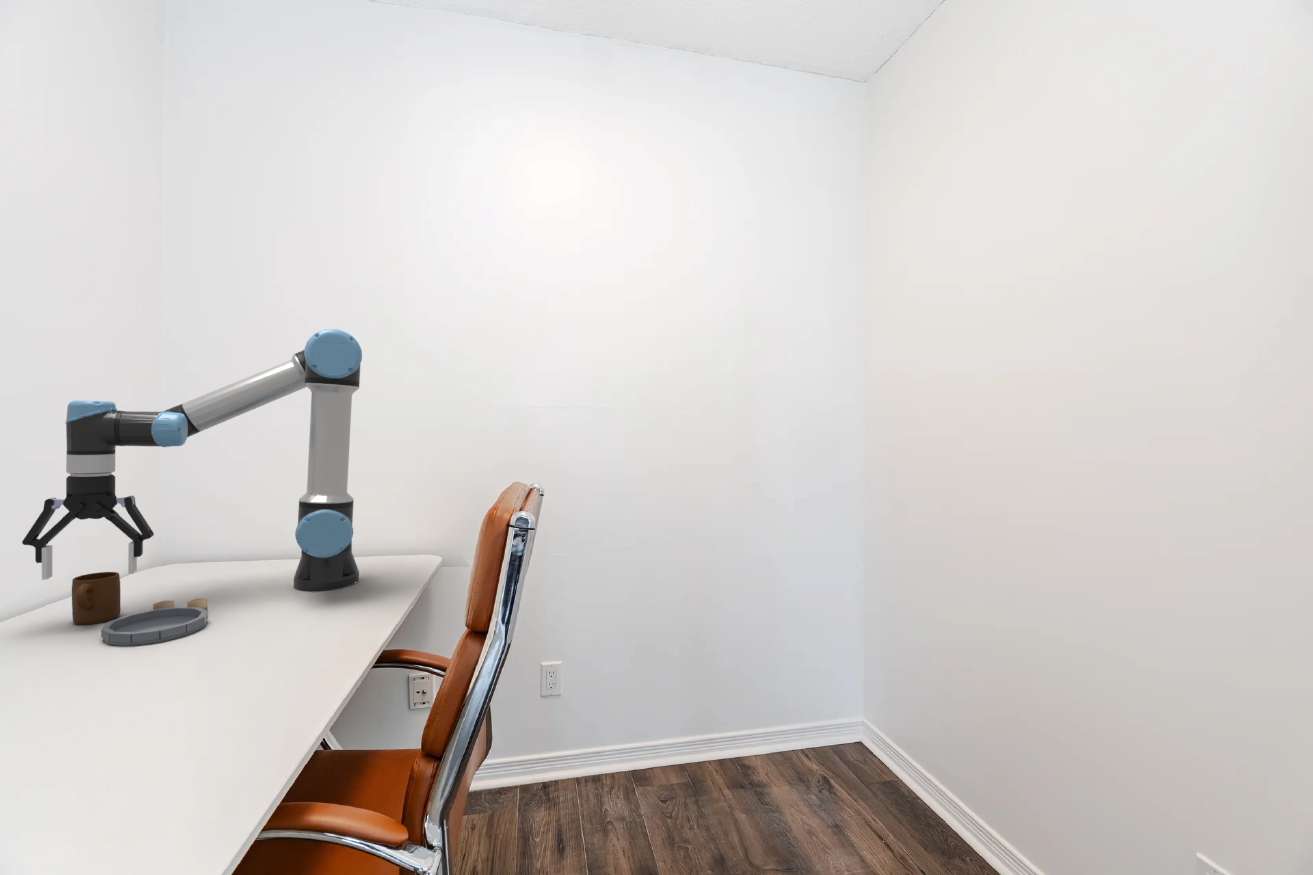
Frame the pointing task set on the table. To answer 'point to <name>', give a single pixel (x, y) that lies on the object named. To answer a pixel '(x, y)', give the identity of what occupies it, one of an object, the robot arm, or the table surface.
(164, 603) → the bead
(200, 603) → the bead
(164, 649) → the table surface
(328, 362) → the robot arm
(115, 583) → the mug
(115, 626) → the saucer
